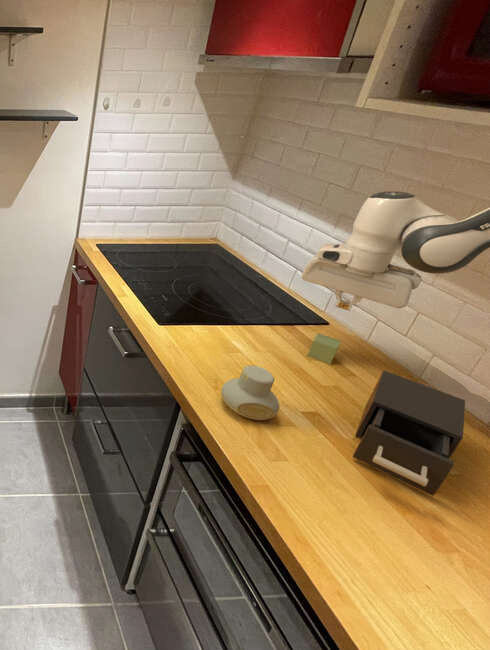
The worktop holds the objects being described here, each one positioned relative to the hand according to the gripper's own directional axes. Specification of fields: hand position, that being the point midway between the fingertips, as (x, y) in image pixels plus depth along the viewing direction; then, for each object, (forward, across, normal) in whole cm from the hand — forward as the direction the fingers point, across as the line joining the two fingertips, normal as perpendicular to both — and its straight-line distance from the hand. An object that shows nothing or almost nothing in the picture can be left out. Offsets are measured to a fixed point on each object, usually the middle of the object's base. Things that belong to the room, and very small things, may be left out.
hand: (342, 308), depth 111 cm
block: (+15, 0, -1) cm, 15 cm away
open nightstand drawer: (+14, -17, +32) cm, 39 cm away
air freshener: (+16, +7, +36) cm, 40 cm away
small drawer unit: (+15, -17, +20) cm, 31 cm away
